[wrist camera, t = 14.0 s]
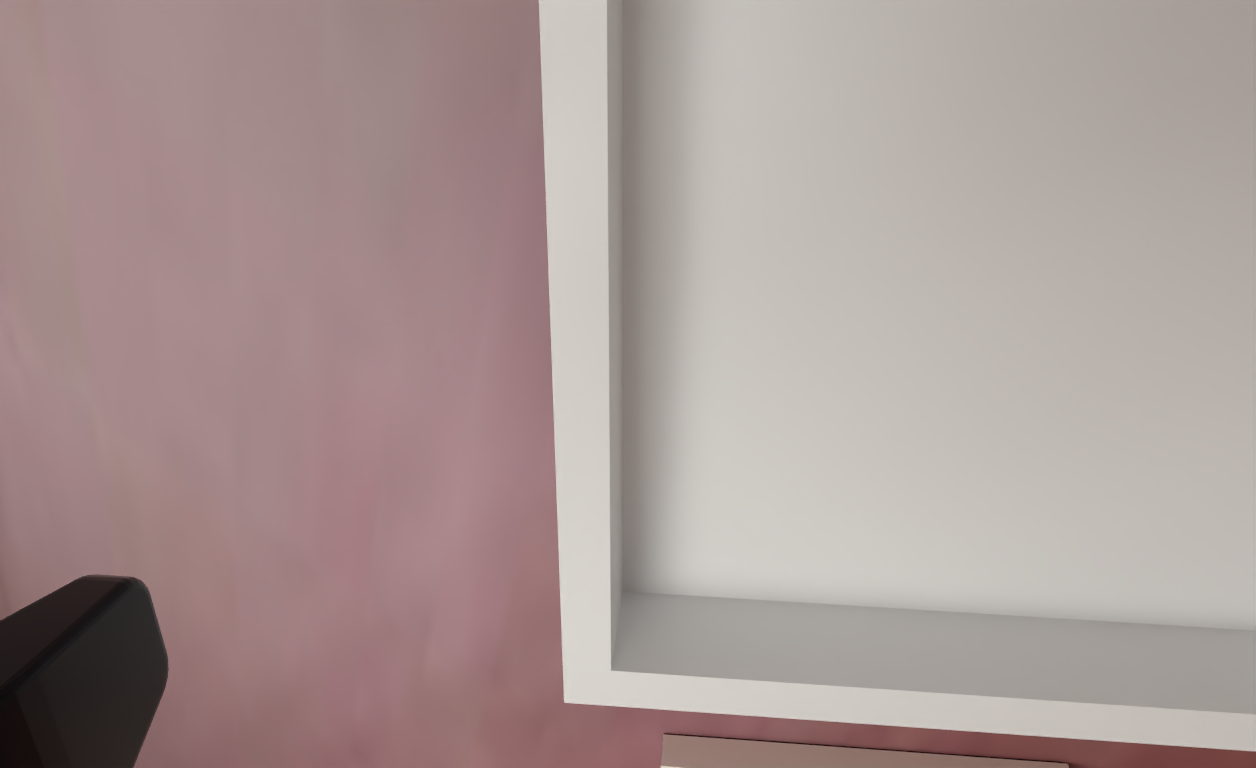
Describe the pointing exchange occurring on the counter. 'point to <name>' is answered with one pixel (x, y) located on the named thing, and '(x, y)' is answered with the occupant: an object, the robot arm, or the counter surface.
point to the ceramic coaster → (812, 756)
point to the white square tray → (907, 361)
